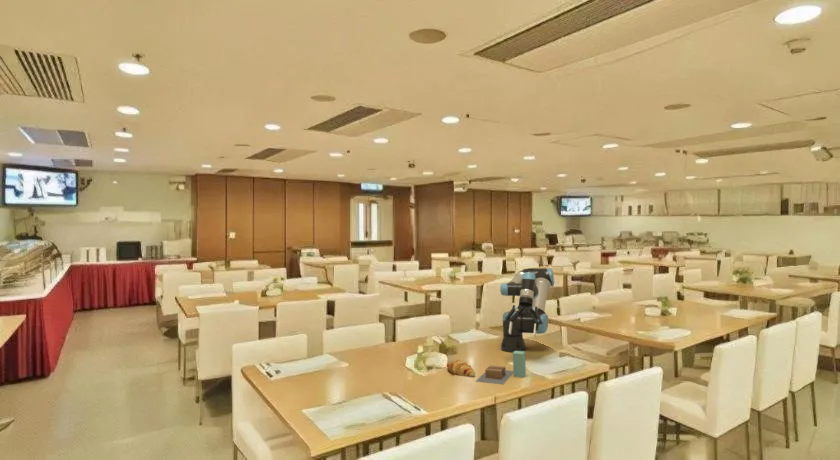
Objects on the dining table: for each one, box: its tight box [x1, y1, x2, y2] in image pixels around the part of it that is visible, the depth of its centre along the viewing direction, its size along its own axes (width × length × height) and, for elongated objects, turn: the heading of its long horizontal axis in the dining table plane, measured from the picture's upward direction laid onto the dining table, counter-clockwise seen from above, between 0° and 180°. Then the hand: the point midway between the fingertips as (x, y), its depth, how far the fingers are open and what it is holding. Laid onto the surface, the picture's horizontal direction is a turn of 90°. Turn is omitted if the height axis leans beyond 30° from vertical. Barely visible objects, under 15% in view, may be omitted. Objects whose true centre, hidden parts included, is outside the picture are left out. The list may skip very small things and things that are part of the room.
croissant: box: [446, 359, 476, 378], centre depth 241 cm, size 21×10×8 cm, turn 37°
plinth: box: [484, 365, 506, 379], centre depth 233 cm, size 8×8×4 cm
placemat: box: [475, 369, 514, 385], centre depth 233 cm, size 22×14×1 cm, turn 154°
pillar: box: [512, 350, 527, 378], centre depth 233 cm, size 5×5×12 cm
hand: (521, 334), depth 254 cm, fingers open, 13 cm apart
